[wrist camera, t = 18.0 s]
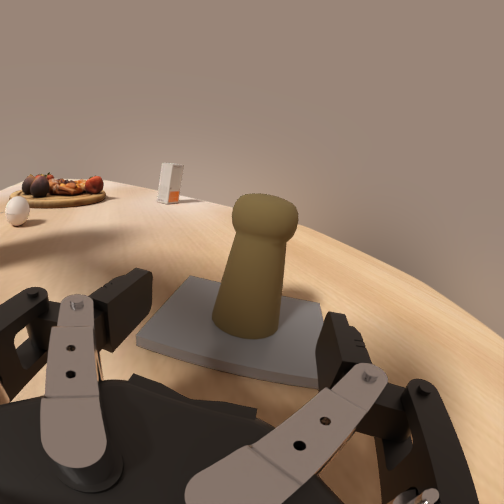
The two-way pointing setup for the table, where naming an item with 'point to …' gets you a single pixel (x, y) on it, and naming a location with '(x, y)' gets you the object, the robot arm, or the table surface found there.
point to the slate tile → (231, 347)
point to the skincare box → (170, 183)
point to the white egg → (17, 211)
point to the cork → (255, 267)
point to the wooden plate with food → (60, 191)
